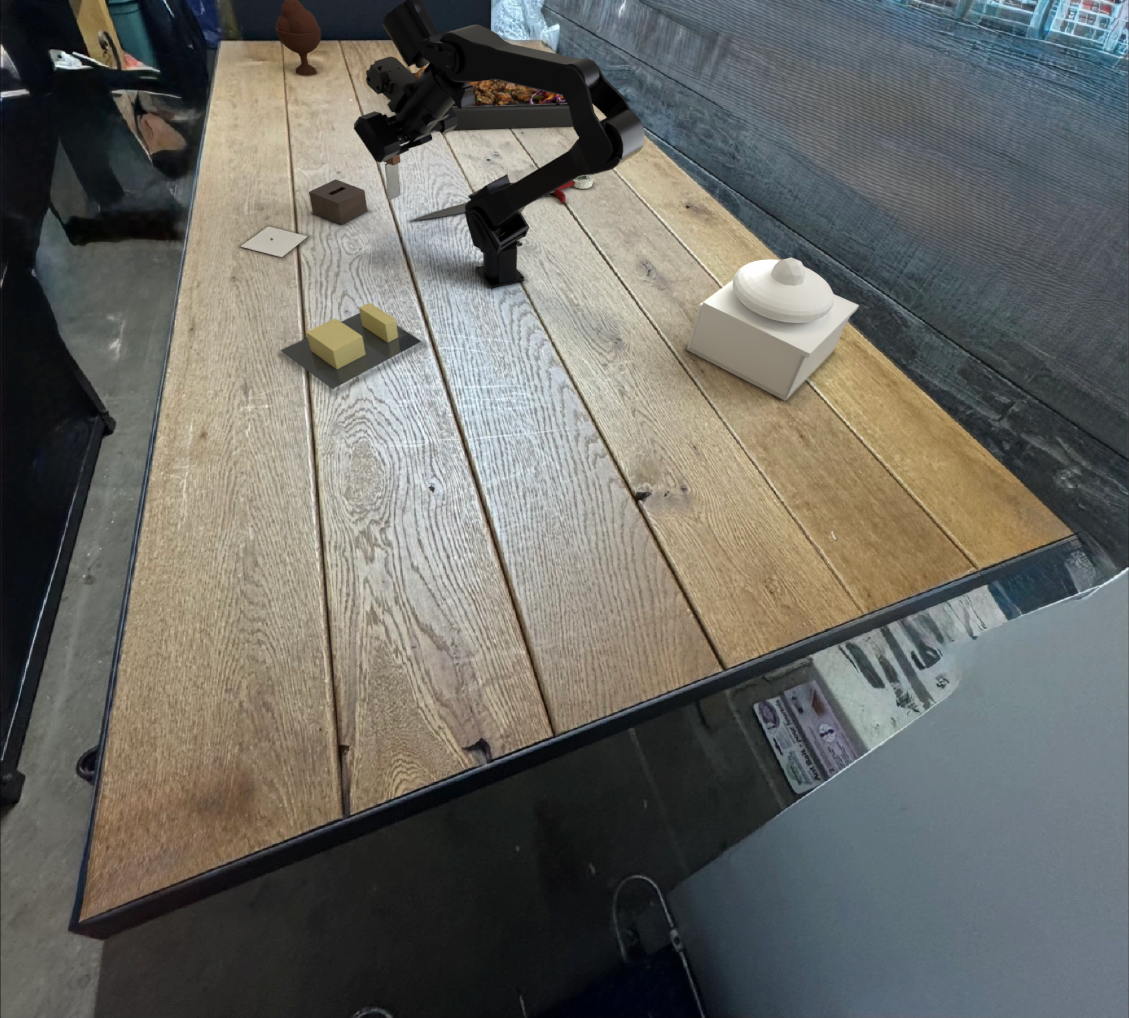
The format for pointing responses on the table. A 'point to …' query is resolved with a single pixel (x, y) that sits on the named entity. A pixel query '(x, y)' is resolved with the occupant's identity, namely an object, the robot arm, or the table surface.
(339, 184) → the knife stand
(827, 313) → the white lidded jar
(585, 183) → the dagger
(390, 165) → the knife
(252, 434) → the table surface
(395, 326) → the butter slice
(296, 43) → the ice cream bowl
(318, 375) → the butter board
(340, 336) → the butter block
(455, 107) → the food platter
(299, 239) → the coaster
